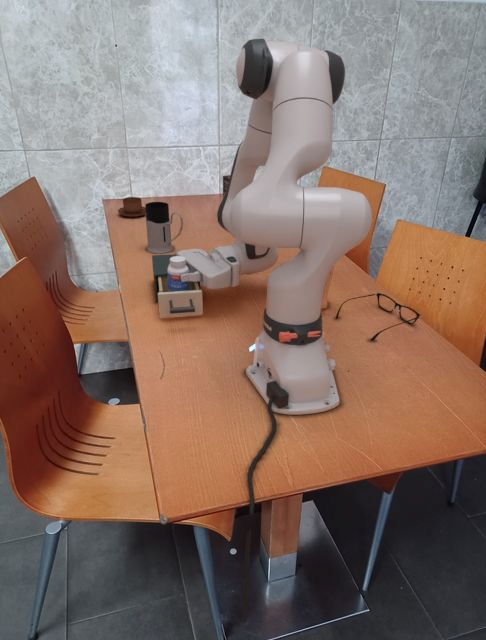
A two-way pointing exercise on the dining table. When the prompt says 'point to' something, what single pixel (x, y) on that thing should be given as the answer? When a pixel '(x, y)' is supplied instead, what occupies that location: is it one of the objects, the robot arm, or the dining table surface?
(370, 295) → the eyeglasses
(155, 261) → the cabinet
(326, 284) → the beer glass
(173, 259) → the pill bottle
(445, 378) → the dining table surface
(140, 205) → the brown round flanged piece
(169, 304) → the drawer
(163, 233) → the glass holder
